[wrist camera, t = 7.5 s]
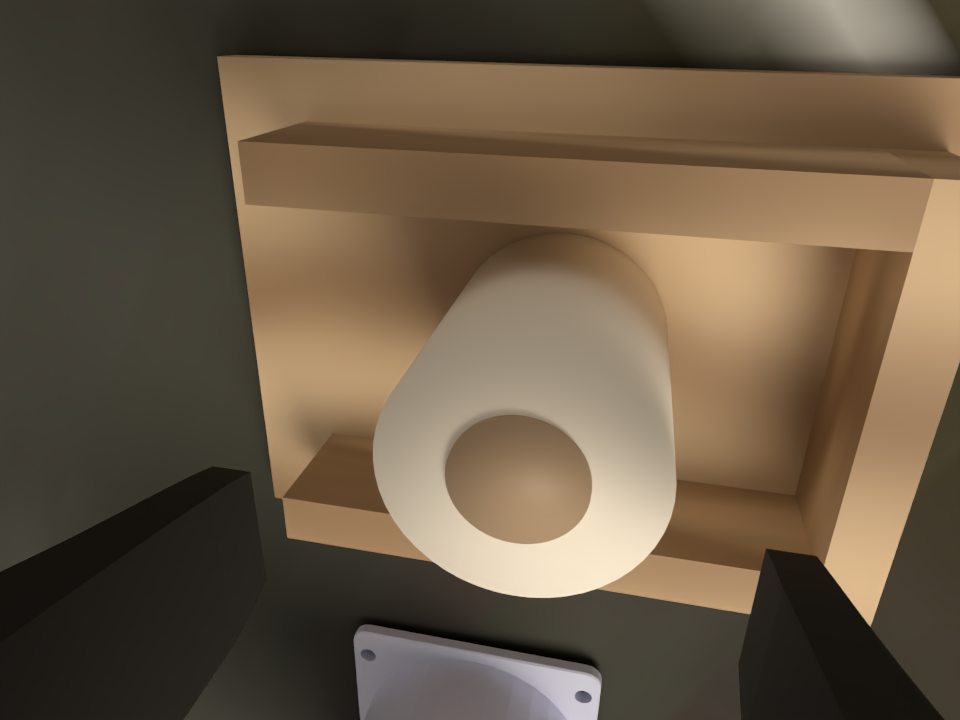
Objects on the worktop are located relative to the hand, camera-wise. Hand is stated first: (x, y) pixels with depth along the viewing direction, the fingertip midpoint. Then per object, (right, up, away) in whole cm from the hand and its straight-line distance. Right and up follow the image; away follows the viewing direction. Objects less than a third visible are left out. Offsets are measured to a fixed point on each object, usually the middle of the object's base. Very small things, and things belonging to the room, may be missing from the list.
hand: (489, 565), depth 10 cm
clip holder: (+2, +4, +8) cm, 9 cm away
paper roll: (+2, +3, +7) cm, 8 cm away
